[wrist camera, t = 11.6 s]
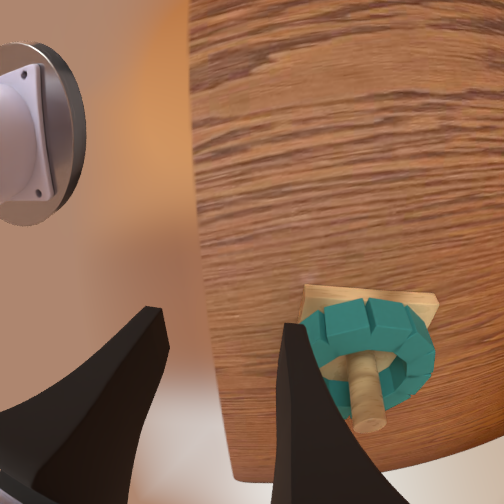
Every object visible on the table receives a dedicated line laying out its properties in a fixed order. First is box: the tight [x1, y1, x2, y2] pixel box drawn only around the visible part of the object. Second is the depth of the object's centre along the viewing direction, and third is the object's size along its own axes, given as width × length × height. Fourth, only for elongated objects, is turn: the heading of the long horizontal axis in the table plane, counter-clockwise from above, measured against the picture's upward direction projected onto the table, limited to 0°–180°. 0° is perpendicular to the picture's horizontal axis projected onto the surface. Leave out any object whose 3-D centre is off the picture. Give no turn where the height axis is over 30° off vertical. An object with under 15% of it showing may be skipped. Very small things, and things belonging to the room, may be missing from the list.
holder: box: [297, 284, 439, 433], centre depth 18 cm, size 9×9×7 cm
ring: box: [299, 297, 435, 419], centre depth 19 cm, size 10×10×2 cm
